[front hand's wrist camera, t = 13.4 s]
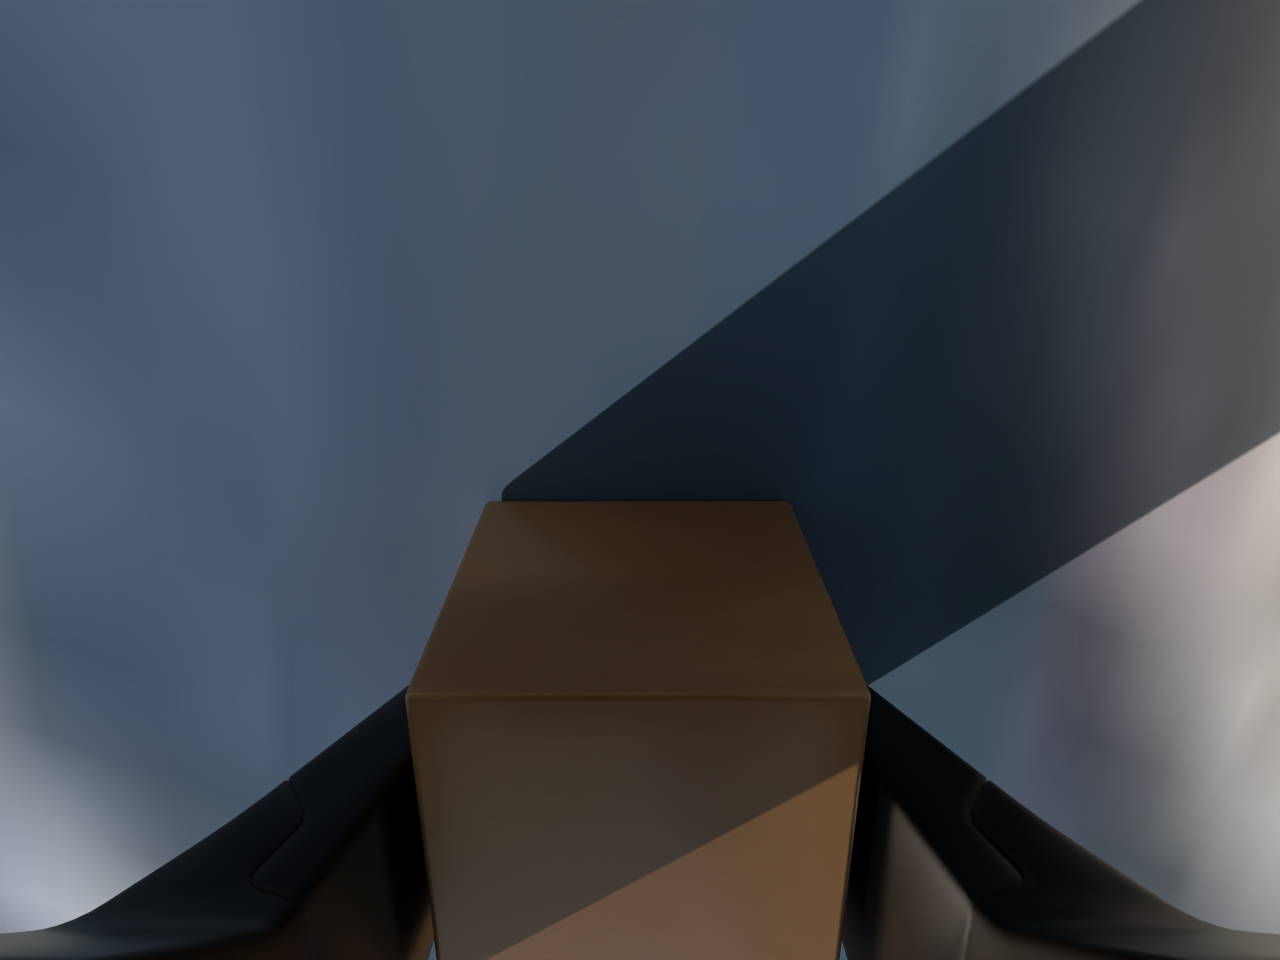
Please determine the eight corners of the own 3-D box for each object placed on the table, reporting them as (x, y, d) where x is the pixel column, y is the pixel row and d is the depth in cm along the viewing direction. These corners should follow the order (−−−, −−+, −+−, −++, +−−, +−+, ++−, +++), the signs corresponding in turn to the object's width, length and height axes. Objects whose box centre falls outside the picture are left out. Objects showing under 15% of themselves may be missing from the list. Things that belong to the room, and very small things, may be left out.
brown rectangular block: (790, 498, 12) (874, 694, 8) (773, 748, 14) (834, 1022, 9) (485, 499, 12) (401, 693, 8) (503, 748, 14) (441, 1022, 9)
